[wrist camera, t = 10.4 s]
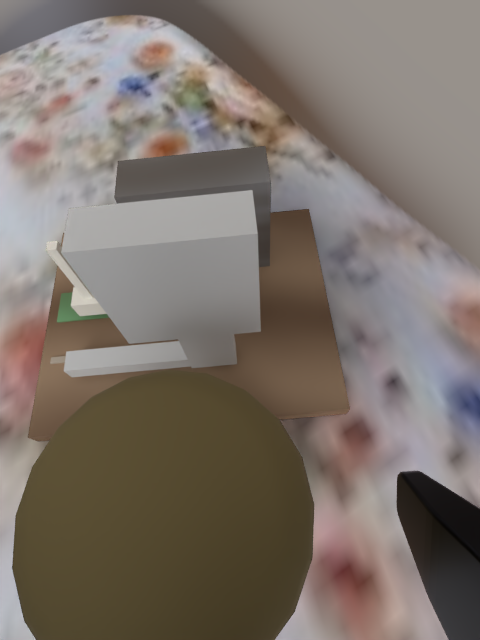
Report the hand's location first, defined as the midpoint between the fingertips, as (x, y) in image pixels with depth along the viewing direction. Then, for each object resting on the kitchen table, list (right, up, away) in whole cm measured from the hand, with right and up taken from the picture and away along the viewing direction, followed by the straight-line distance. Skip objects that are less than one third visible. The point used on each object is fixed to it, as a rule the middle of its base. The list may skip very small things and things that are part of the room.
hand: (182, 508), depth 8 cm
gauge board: (-1, +4, +12) cm, 12 cm away
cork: (+1, -4, +7) cm, 8 cm away
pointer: (-6, +5, +11) cm, 13 cm away
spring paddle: (-2, +2, +9) cm, 10 cm away
